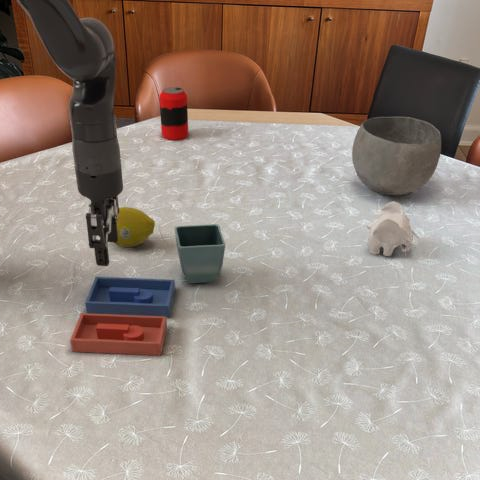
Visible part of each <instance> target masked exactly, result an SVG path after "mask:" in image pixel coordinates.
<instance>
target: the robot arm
mask: <svg viewBox="0 0 480 480" xmlns="http://www.w3.org/2000/svg"><path fill="white" fill-rule="evenodd" d="M16 2H17V3H18V4H19V5H20V7H21V8H22V9H23V10H24V12H25V13H26V14H27V15H28V17H29V19H30V21H31V23H32V25H33V28H34V29H35V32H36V33H37V35H38V37H39V39H40V41H41V43H42V44H43V47H44V48H45V50H46V52H47V53H48V55H49V57H50V58H51V60H52V61H53V63H54V64H55V65H56V67H57V68H58V69H59V70H60V72H62V73H63V75H65V76H66V77H68V78H69V79H71V80H72V83H73V84H72V85H73V86H72V87H73V88H72V93H71V95H70V98H69V100H68V115H69V122H70V123H69V124H70V130H71V139H72V145H71V146H72V157H73V164H74V171H75V173H74V174H75V180H76V188H77V191H78V193H79V194H80V195H81V196H83V197H84V198H87V200H89V201H90V203H89V204H88V212H86V213H85V221H86V229H87V239H88V247H89V249H94V257H95V258H94V259H95V264H96V265H97V266H98V267H108V266H109V265H110V254H109V243H113V242H114V243H116V242H117V241H118V231H117V220H118V216H117V214H119V211H120V210H119V208H120V204H119V197H118V196H119V195H120V194H122V192H123V190H124V182H123V181H124V180H123V169H122V159H121V158H122V157H121V149H120V148H121V147H120V143H119V139H118V132H117V120H116V110H115V90H116V71H117V70H116V68H117V61H116V60H117V57H116V47H115V43H114V39H113V36H112V34H111V32H110V30H109V29H108V28H107V26H106V25H105V24H104V23H103V22H102V21H100V20H99V19H97V18H94V17H82V18H79V15H78V14H77V13H76V11H75V9H74V8H73V6H72V4H71V2H70V1H69V0H16ZM97 237H99V239H98V238H97ZM114 243H113V244H114Z"/></svg>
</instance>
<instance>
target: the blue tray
mask: <svg viewBox="0 0 480 480" xmlns="http://www.w3.org/2000/svg"><path fill="white" fill-rule="evenodd" d="M110 287H121V288H139V289H148V290H150V291H152V293H153V302H152V303H151V304H145V303H135V302H116V301H110V297H109V289H110ZM175 293H176V280H175V279H163V278H143V277H142V278H140V277H139V278H138V277H117V276H116V277H114V276H94V280H93V282H92V284H91V287H90V289H89V292H88V294H87V297H86V299H85V301H84V305H85V311H86V313H91V314H115V315H140V316H165V317H166V318H170V316H171V312H172V307H173V303H174V298H175Z"/></svg>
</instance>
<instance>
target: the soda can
mask: <svg viewBox="0 0 480 480" xmlns="http://www.w3.org/2000/svg"><path fill="white" fill-rule="evenodd" d="M158 96H159V113H160V129H161V137H162V138H164V140H165V139H166V140H169V141H181V140H184V139H187V137H188V136H189V114H188V113H189V112H188V95H187V93H186V92H185V90H184V89H183V88H181V87H177V86H169V87H165V88H163V89H162V90H161V92H160V94H159V95H158Z"/></svg>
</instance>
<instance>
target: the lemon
mask: <svg viewBox="0 0 480 480" xmlns="http://www.w3.org/2000/svg"><path fill="white" fill-rule="evenodd" d="M119 210H120V211H119V214H117V216H118V220H117V231H118V241H117V242H116V243H114V242H112V243H113V244H115V245H117V246H118V247H123V248H131V247H136V246H139V245H141V244H142V243H144V242H145V241H146V240H147V239H148V238H149V237H150V236H151V235H152V234H153V233H154V230H155V225H156V223H155V220H154V219H153V218H152V217H150V216H149V215H148V214H146V212H144V211H142V210H140V209H138V208H134V207H129V206H121V207H120V206H119Z"/></svg>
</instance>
